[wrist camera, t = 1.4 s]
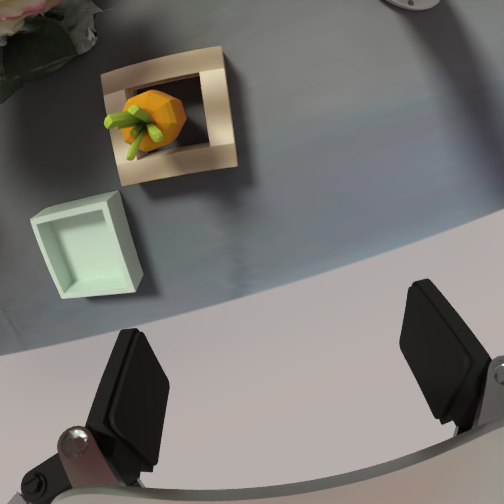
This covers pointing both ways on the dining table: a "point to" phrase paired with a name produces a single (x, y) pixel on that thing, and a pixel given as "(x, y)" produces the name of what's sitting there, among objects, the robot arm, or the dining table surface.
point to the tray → (89, 246)
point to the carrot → (148, 121)
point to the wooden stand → (215, 104)
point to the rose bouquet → (41, 38)
